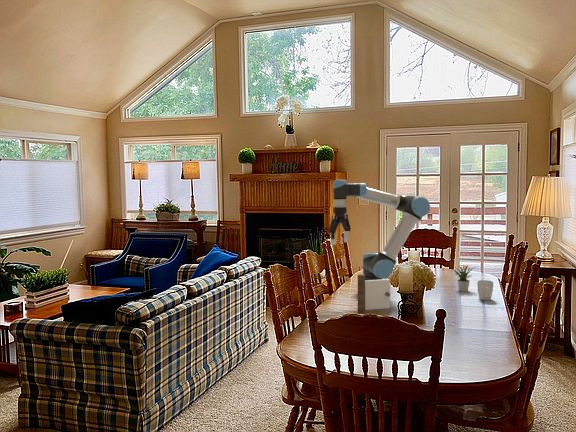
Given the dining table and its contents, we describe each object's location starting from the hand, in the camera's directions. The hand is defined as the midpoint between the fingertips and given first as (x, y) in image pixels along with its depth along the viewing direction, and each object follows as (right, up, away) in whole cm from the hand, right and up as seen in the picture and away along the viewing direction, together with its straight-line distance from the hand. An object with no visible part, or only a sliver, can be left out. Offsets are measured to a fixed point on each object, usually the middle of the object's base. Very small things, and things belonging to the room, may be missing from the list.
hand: (340, 243), depth 297 cm
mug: (+82, -32, -5) cm, 88 cm away
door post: (+8, -34, -32) cm, 48 cm away
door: (+16, -32, -30) cm, 47 cm away
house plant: (+79, -30, +19) cm, 86 cm away
